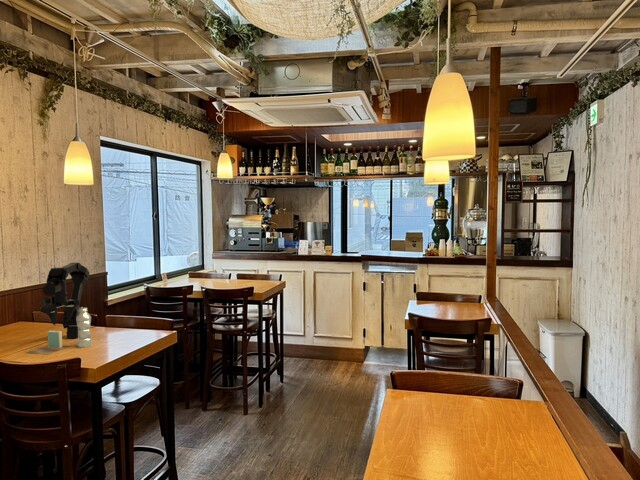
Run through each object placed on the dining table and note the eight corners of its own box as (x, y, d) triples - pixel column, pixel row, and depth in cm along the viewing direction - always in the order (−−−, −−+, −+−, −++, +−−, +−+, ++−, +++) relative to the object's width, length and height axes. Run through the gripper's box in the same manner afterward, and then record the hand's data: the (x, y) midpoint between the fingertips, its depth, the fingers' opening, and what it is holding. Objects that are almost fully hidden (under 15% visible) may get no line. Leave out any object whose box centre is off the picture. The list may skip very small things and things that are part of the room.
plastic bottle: (81, 345, 217) (78, 306, 216) (94, 345, 218) (92, 306, 217) (74, 349, 211) (72, 309, 210) (89, 349, 212) (87, 308, 211)
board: (49, 345, 219) (49, 344, 219) (71, 347, 215) (71, 346, 215) (24, 354, 205) (24, 353, 205) (47, 356, 202) (47, 354, 202)
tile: (51, 346, 216) (50, 330, 215) (62, 347, 214) (61, 331, 214) (48, 347, 214) (47, 331, 214) (59, 348, 212) (58, 332, 212)
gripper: (62, 288, 228) (64, 317, 229) (30, 295, 210) (32, 326, 211) (79, 289, 225) (81, 318, 226) (48, 295, 207) (50, 327, 208)
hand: (61, 322), depth 218 cm, fingers open, 8 cm apart
